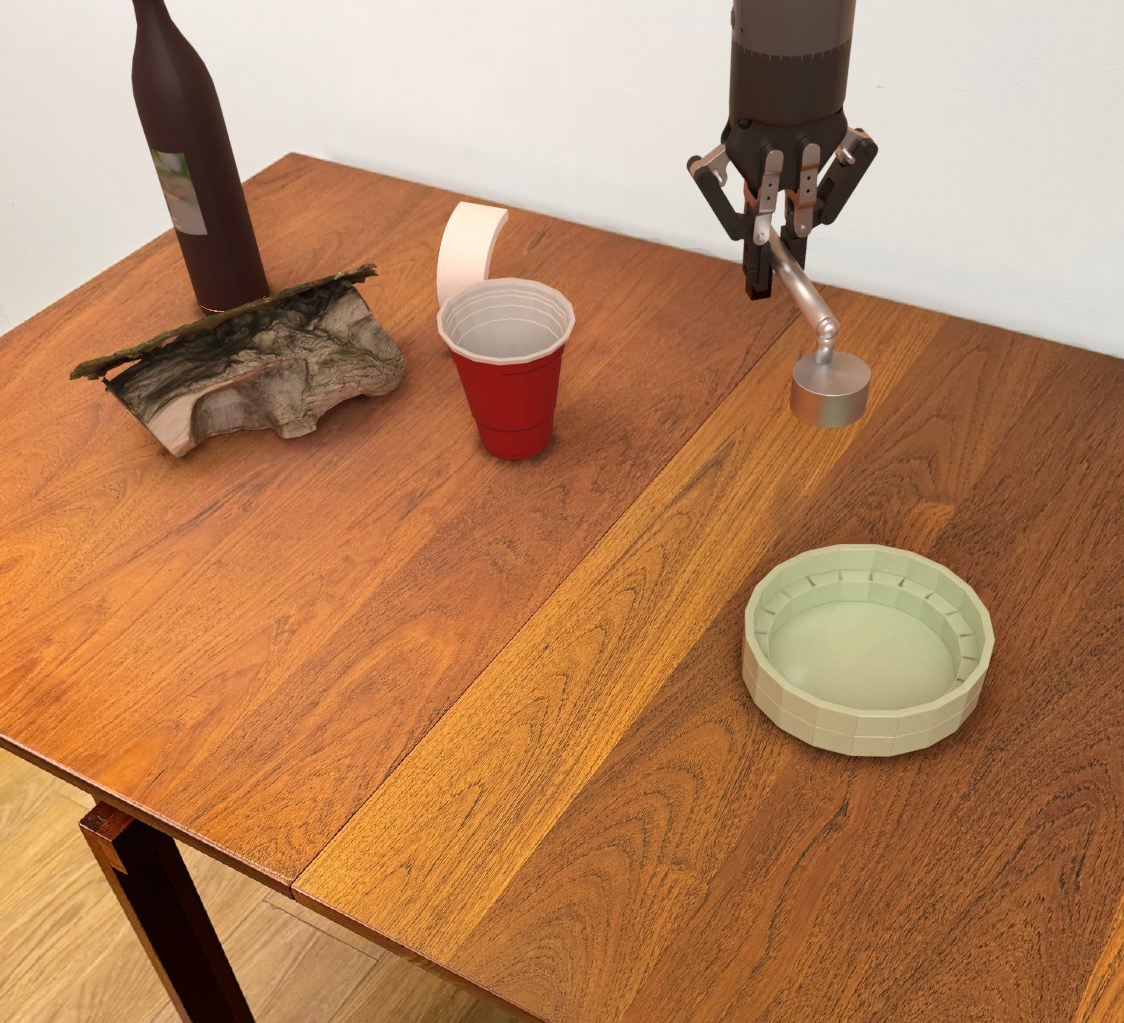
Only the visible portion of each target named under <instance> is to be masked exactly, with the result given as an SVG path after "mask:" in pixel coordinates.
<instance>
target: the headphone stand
mask: <svg viewBox="0 0 1124 1023" xmlns="http://www.w3.org/2000/svg"><path fill="white" fill-rule="evenodd" d="M507 221H509V209H508V208H501V207H497V206H491V205H485V204H480V203H474V202H473V203H472V202H467V201H460V202H459V203H458V204H457V206H456V207H455V208H454V210H453V212H452V213H451V215H450V217H449V219H448V220H447V223H446V226H445V229H444V232H443V235H442V238H441V243H440V247H439V252H438V258H437V259H438V260H437V267H436V294H437V301H438V307H439V310H440V309H441V307H442V305H443V303H444V301H445V300H446V299H447V298H449V297H450V296H451V295H453V294H454V293H456V292H457V291H458V290H460V289H461V288H462V287H465V286H468V285H471V284H474V283H477V282H480V281H483V280H488V279H489V274H490V266H491V261H492V256H493V253H494V248H495V246H496V243H497V240H498V237H499V235H500V233H501V231H502V230H503V227H504V226H505V224H506V223H507Z"/></svg>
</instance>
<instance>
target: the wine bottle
mask: <svg viewBox="0 0 1124 1023" xmlns="http://www.w3.org/2000/svg"><path fill="white" fill-rule="evenodd" d="M131 2H132V6H133V10H134V11H133V12H134V16H135V22H136V32H135V42H134V48H133V55H132V59H131V60H132V62H131V74H130V75H131V76H130V77H131V78H130V80H131V89H132V97H133V100H134V103H135V108H136V111H137V114H138V118H139V121H140V124H141V127H142V131H143V134H144V137H145V141H146V143H147V147H148V150H149V153H150V156H151V159H152V162H153V165H154V168H155V172H156V175H157V178H158V181H159V185H160V188H161V191H162V194H163V197H164V201H165V203H166V207H167V210H168V213H169V216H170V219H171V223H172V225H173V229H174V232H175V235H176V238H177V242H178V244H179V248H180V251H181V254H182V257H183V261H184V264H185V267H186V269H187V273H188V276H189V279H190V283H191V285H192V288H193V292H194V296H195V298H196V301H197V304H198V306H199V308H200V309H201V312H203V313H204V314H205V315H207V316H210V315H214V314H218V313H221V312H214V311H210V310H207V309H211V310H217V311H227V310H231V309H234V308H237V307H240V306H243V305H245V304H246V303H251V302H254V301H256V300H258V299H262V298H263V297H264V296H265V297H264V298H267V297H270V287H269V283H268V280H267V275H266V271H265V269H264V265H263V261H262V257H261V253H260V249H259V245H258V242H257V241H258V240H257V237H256V234H255V231H254V226H253V223H252V219H251V215H250V212H249V208H248V204H247V200H246V197H245V192H244V189H243V185H242V181H241V176H240V173H239V170H238V165H237V163H236V159H235V154H234V151H233V147H232V144H231V140H230V136H229V131H228V128H227V124H226V121H225V120H226V119H225V117H224V113H223V110H222V105H221V101H220V98H219V94H218V92H217V89H216V87H215V86H216V85H215V82H214V79H213V77H212V75H211V72H210V71H209V69H208V67H207V65H206V63H205V61H204V60H203V58H202V57H201V56H200V54H199V52H198V51H197V50H196V49H195V47H194V46H193V45H192V44H191V43H190V41H189V40H188V39H187V38H186V36H185V35H184V34H183V33H182V32H181V30H180V29H179V27H178V26H177V24H175V22H174V21H173V19H172V17H171V14H170V12H169V10H168V8H167V5H166V2H165V0H131ZM199 304H200V305H201V306H203V307H205V308H207V309H205V308H203V307H201V306H200V305H199Z"/></svg>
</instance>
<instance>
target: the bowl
mask: <svg viewBox="0 0 1124 1023" xmlns="http://www.w3.org/2000/svg"><path fill="white" fill-rule="evenodd" d="M990 614H991V613H990V612H989V610H988V609H987V607H986V605H985V604H984V603H983V601H982V600H981V598H980V597H979V595H978V594H977V593H976V591H975V590H974V588H973V587H972V586H971V585H970V584H969V583H967V582H966V581H964V580H963V579H962V578H961V577H959V576H958V575H957V574H956V573H954V572H953V571H952V570H950V569H949V568H948V567H946V566H945V565H944V564H941V563H938V562H936V561H934V560H932V559H929V558H927V557H925V556H924V555H921V554H918V553H916V552H914V551H910V550H907V549H902V548H897V547H892V546H887V545H883V544H878V543H840V544H839V543H837V544H833V545H828V546H823V547H819V548H814V549H809V550H805V551H803V552H801V553H799V554H797V555H795V556H793V557H791V558H789V559H786V560H784V561H783V562H781V563H779V564H777V565H775V566H774V567H773V568H772V569H771V570H770V571H769V572H768V573H767V574H766V575H765V576H764V577H763V578H761V580H760V581H759V582H758V583H757V584H755V587H754V588H753V590H752V593H751V596H750V598H749V600H748V603H747V604H746V607H745V609H744V615H743V616H744V617H743V626H742V627H743V628H742V640H741V676H742V679H743V682H744V684H745V686H746V688H747V690H748V693H749V695H750V696H751V699H752V701H753V703H754V704H755V705H756V706H757V707H758V709H760V711H761V712H762V713H763V714H764V715H765V716H766V717H767V718H768V719H769V720H770V721H771V722H772V723H773V724H775V726H777V727H778V728H779V729H781V731H784V732H786V733H788V734H789V735H792V736H793V737H795V738H797V739H798V740H800V741H802V742H804V743H806V744H807V745H810V746H812V747H815V748H818V749H823V750H825V751H830V752H834V753H838V754H842V755H845V756H851V757H889V758H890V757H893V756H894V757H895V756H897V755H902V754H906V753H910V752H914V751H918V750H923V749H927V748H930V747H931V746H933V745H935V744H937V743H938V742H940V741H941V740H944V739H945V738H946V737H948V736H950V735H952V734H954V733H955V732H957V731H958V730H959V729H960V727H961V726H962V725H963V723H964V722H965V721H966V720H967V719H968V717H969V716H970V715H971V714H972V712H974V710H975V708H976V707H977V706H978V702H979V699H980V695H981V692H982V690H983V689H982V688H983V685H984V682H985V678H986V676H987V672H988V669H989V667H990V661H991V658H992V654H993V651H994V646H995V642H996V638H995V633H994V628H993V624H992V620H991V615H990Z"/></svg>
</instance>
